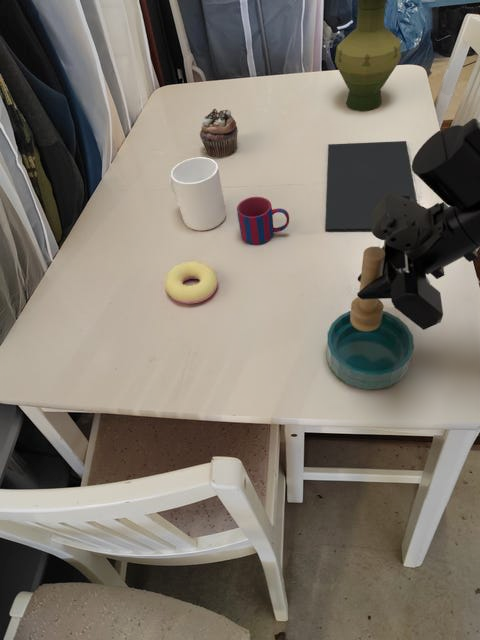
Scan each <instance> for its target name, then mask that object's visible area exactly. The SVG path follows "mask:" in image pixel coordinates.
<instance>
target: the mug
mask: <svg viewBox="0 0 480 640" xmlns="http://www.w3.org/2000/svg"><path fill="white" fill-rule="evenodd" d="M219 170H220V169H219V165H218V163H217V161H215V160H214V159H212V158H211V157H210V158H209V157H204V156H203V157H202V156H199V157H198V156H196V157H190V158H187V159H185V160H182V161H180V162H179V163H177V164H176V165H175V166H174V167H173V168H172V169H171V171H170V176H169V188H170V192H171V194H172V196H173V198H174V199H175V201H176V202H177V203H178V207H179V209H180V213H181V217H182V220H183V222H184V224H185V226H186V227H188V229H191V230H195V231H209V230H213V229H214V228H217V227H218V226H220V225H221V224H222V222H224V221H225V219H226V218H227V217H226V216H227V208H226V204H225V203H226V202H225V197H224V191H223V187H222V181H221V176H220V171H219Z"/></svg>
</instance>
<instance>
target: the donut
mask: <svg viewBox="0 0 480 640" xmlns="http://www.w3.org/2000/svg"><path fill="white" fill-rule="evenodd" d="M190 279H195V280H198V281H199V282H198V283H195V284H193V285H186V284H184V282H185V281H187V280H190ZM218 283H219V279H218V275H217V273H216V271H215V270H214V268H212V267H211V266H210V265H208V264H207V263H204V262H201V261H194V260H193V261H185V262H181V263H179V264H176V265H175V266H173V268H171V269H170V271H169V272H168V273H167V275H166V277H165V280H164V287H165V290H166V292H167V294H168V295H169V297H170V298H172V299H173V300H174V301H177V302H179V303H182V304H189V305H190V304H191V305H192V304H197V303H202V302H204V301H205V300H207V299H209V298H211V296H212V295H213V294H215V291H216V290H217V288H218Z"/></svg>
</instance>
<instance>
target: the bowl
mask: <svg viewBox="0 0 480 640" xmlns="http://www.w3.org/2000/svg"><path fill="white" fill-rule="evenodd" d="M350 314H351V310H349V311H347V312H345V313H342V314H341V315H339V316H338V317H337V318H336V319H335V320H334V321H333V322H332V323H331V325H330V327H329V329H328V331H327V337H326V338H327V339H326V360H327V363H328V365H329V368H330V369H331V370H332V372H333V373H334V374H335V375H336V377H338V379H340V380H341V381H343V382H344V383H346V385H349V386H352V387H355V388H358V389H361V390H362V389H363V390H379V389H385V388H389V387H391V386H392V385H394V384H396V383H398V382H400V380H401V379H402V378H403V377H404V376H405V375H406V373H408V369H409V366H410V363H411V360H412V357H413V353H414V350H415V342H414V341H415V340H414V336H413V334H412V331H411V330H410V328H409V326H408V325H407V324H406V323H405V322H404V321H402V319H401V318H399V317H398V316H396V315H395V314H393V313H390V312H388V311H386V310H383V314H382V320H381V324H380V326H379V327H378V328H377V329H375V330H373V331H360V330H358V329H356V328H355V327H354V326H353V325H352V324H351V322H350Z"/></svg>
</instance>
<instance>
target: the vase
mask: <svg viewBox="0 0 480 640" xmlns="http://www.w3.org/2000/svg"><path fill="white" fill-rule="evenodd" d="M356 1H357V2H356V3H357V15H356V16H357V17H356V28H354V29H353V30H352V31H351V32H350V33H348V35H347V36H345V37H344V38H343V39H342V40H341V41H340V42H339V43H338V44H337V46H336V49H335V50H336V51H335V56H334V57H335V58H334V63H335V66H336V68H337V70H338V71H339V73H340V75H341V78H342V79H343V81H344V83H345V84H346V87H347V89H348V94H347V97H346V101H345V106H346V108H347V109H349V110H352V111H354V112H370V111H373V110H376V109H378V108H380V106H381V105H382V104H383V99H382V92H381V90H382V88H383V87H384V85H385V84H386V83H387V81H388V79H389V78H390V76H391V75H392V73H393V72H394V70H395V69H396V67H397V66H398V64H399V62H401V58H402V42H401V40H400V39H399V37H397V36H396V35H395V34H394V33H393V32H392V31H390V30H389V29H388V28H387V27H386V26H385V16H386V7H387V1H388V0H356Z"/></svg>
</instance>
